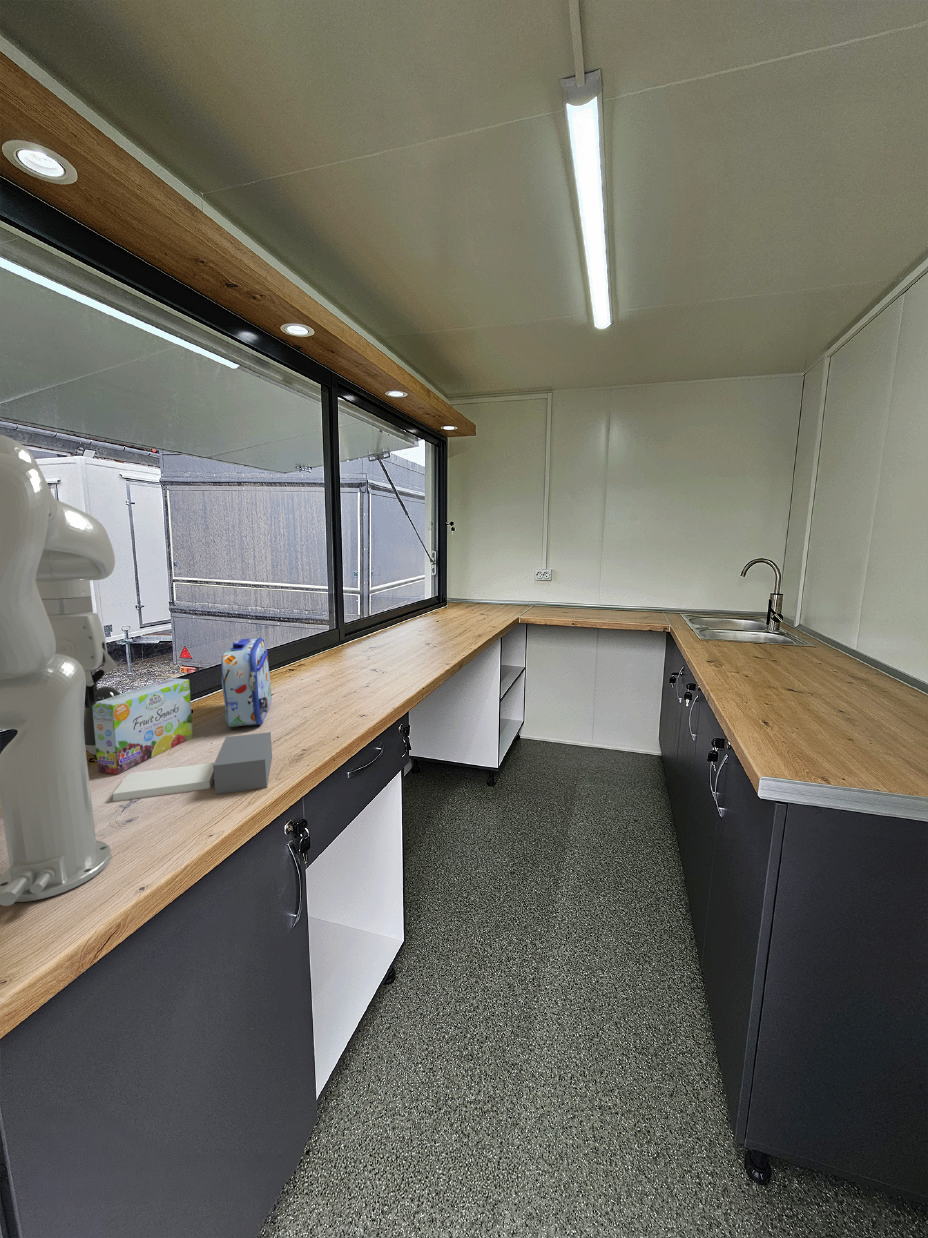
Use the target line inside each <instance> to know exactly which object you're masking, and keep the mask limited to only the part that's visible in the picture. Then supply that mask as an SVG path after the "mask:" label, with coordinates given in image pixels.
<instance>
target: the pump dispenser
mask: <svg viewBox="0 0 928 1238" xmlns="http://www.w3.org/2000/svg"><path fill="white" fill-rule="evenodd" d="M97 692H98V700H97V701H96V702H98V701H101V700H104V699H107V698H110V697H113V696H117V695H120V694H121V692H119V691H118V690H117V689H116V688H114V687H111V686H101V687H99V688H98V687H97ZM84 738H85V748H86V752H88V753H90V754H91V755H93V756H97V754H96V743H95V732H94V721H93V710H92V707H90V708H86V707H85V706H84Z"/></svg>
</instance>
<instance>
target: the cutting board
mask: <svg viewBox="0 0 928 1238" xmlns="http://www.w3.org/2000/svg"><path fill="white" fill-rule="evenodd" d="M214 763H215V762H209V763H208V762H207V763H200V764H194V765H183V766H177V767H168V768H161V769H160V768H159V769H154V770H152V769H151V770H146V771H145V770H144V771H136V772H129V773H128V774H127V775H126V777H124V779H123V780H122V781H121V783H120V784H119V785H118V786H117V788H116V789H115V790H114V792H113V793H112V801H113V802H119V801H125V800H126V801H127V800H134V799H135V800H136V799H140V798H149V797H156V796H158V797H159V796H164V795H171V794H179V793H186V792H194V791H200V790H209V789H211V788H212V784H213V781H214V769H213V765H214Z"/></svg>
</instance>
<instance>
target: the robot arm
mask: <svg viewBox="0 0 928 1238" xmlns="http://www.w3.org/2000/svg"><path fill="white" fill-rule="evenodd" d="M115 558H116V557H115V552H114V549H113V545H112V543H111V540H110V537H109V534H108V532H107V530H106V528H105V527H104V526H103V524H102V523H101V522H100V521H99V520H98V519H97V518H95V517H94V516H92V515H91V514H88V513H86V512H84V511H82V510H80V509H79V508H76V507H74V506H72V505H69V504H67V503H65V502H63V501H61V500H58V499H56V498H55V496H54V494H53V493H52V491H51V488H50V487H49V484H48V482H47V480H46V478H45V476H44V474H43V473H42V470H41V469H40V467H39V464H38V463H37V460H36V458H35V457H34V455H33V454H32V452H31V451H30V450H29V449H28V448H27V447H25V445H24V444H22V443H20V442H18V441H17V440H15V439H13V438H12V437H11V438H10V437H9V436H5V435H3V434H0V730H1V731H3V730H4V731H6V730H16V731H17V733H16V735H15V736H14V737H13V739H11V740H10V742H8V743H7V745H6V746H5V747H4V748H3V750H2V751H1V752H0V809H1V815H2V822H3V824H2V825H3V830H4V837H5V842H6V850H7V857H8V858H7V859H8V863H9V864H8V865H9V868H7V869H6V870H4V872H3V873H2V874H1V875H0V906H3V907H9V906H12V905H13V904H15V902H16V903H25V902H32V901H37V900H44V899H47V898H51V897H54V896H57V895H60V894H63V893H66V892H67V891H71V890H72V889H75V888H77V887H78V886H81V885H83V884H85V883H86V882H88V881H89V880H91V879H93V878H94V877H96V876H97V875H99V874H100V873H101V872H102V871H103V870H104V869H105V868H106V866H108V864H109V862H110V861H111V859H112V853H111V851H112V850H111V847H110V845H109V844H107V843H106V842H104V841H100V840H97V837H96V828H95V827H96V826H95V818H94V810H93V809H94V808H93V801H92V795H91V794H92V793H91V786H90V776H89V775H90V774H89V768H88V760H87V750H86V748H85V738H84V710H85V707H86V708H90V707H92V706H93V705H94V704H96V701H97V700H98V692H97V689H98V685H97V683H98V682H99V681H100V680H101V679H103V677H104V676H105V675H106V674H108V673H110V672H112V671H114V670H115V669H117V667H118V664H117V663H116V661H114V659H113V658H112V657H111V656H110V654H109V653H108V648H107V641H106V637H105V633H104V629H103V626H102V623H101V618H100V617H99V614H98V613H97V612H94V609H93V601H92V599H93V598H92V590H91V588H92V587H91V581H100V580H105V579H107V578H109V577H110V576H111V575H112V573H113V572H114V569H115V565H116V563H115V562H116V559H115ZM102 665H103V667H101V668H99V667H100V666H102ZM98 668H99V670H97V669H98Z"/></svg>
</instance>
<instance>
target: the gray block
mask: <svg viewBox="0 0 928 1238" xmlns="http://www.w3.org/2000/svg"><path fill="white" fill-rule="evenodd" d="M271 733H272V732H261V733H252V734H243V735H242V734H239V735H232V736H226V737H225V738H224V740H223V743H222V744H221V748H220V749H219V752H218V753H217V756H216V758H215V761H214V762H213V763H214V765H213V769H214V780H213V781H214V792H215V793H214V795H221V794H230V793H235V792H245V791H251V790H252V791H253V790H259V789H264V788H265V789H266V788H268V784H269V776H270V772H271V767H272V761H273V750H272V749H273V748H272V747H273V746H272V745H273V744H272V734H271Z"/></svg>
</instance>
